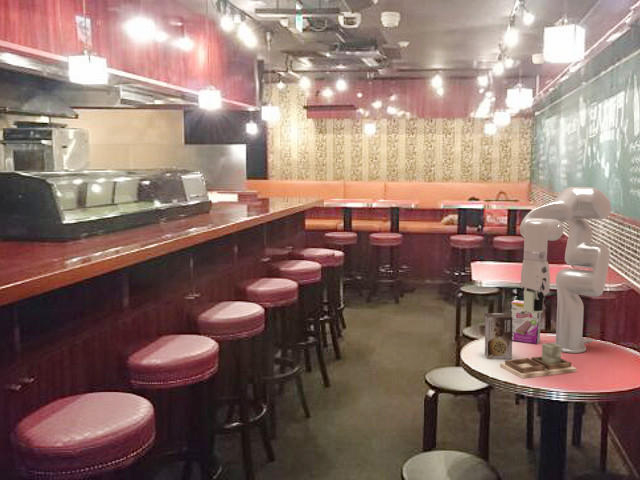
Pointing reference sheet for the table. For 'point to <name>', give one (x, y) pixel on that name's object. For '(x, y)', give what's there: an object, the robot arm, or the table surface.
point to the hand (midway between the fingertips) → (533, 308)
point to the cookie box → (498, 335)
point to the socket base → (540, 363)
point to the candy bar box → (524, 324)
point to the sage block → (530, 301)
